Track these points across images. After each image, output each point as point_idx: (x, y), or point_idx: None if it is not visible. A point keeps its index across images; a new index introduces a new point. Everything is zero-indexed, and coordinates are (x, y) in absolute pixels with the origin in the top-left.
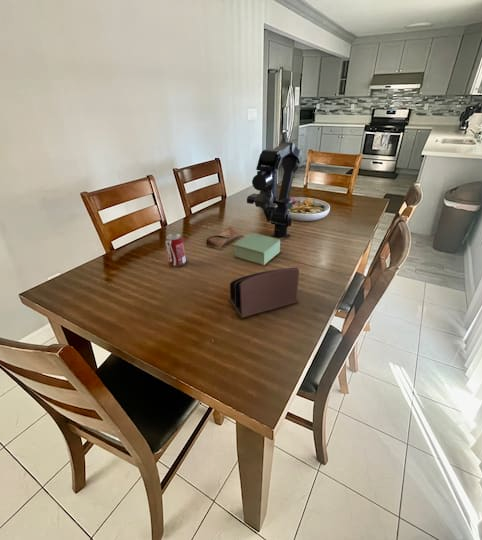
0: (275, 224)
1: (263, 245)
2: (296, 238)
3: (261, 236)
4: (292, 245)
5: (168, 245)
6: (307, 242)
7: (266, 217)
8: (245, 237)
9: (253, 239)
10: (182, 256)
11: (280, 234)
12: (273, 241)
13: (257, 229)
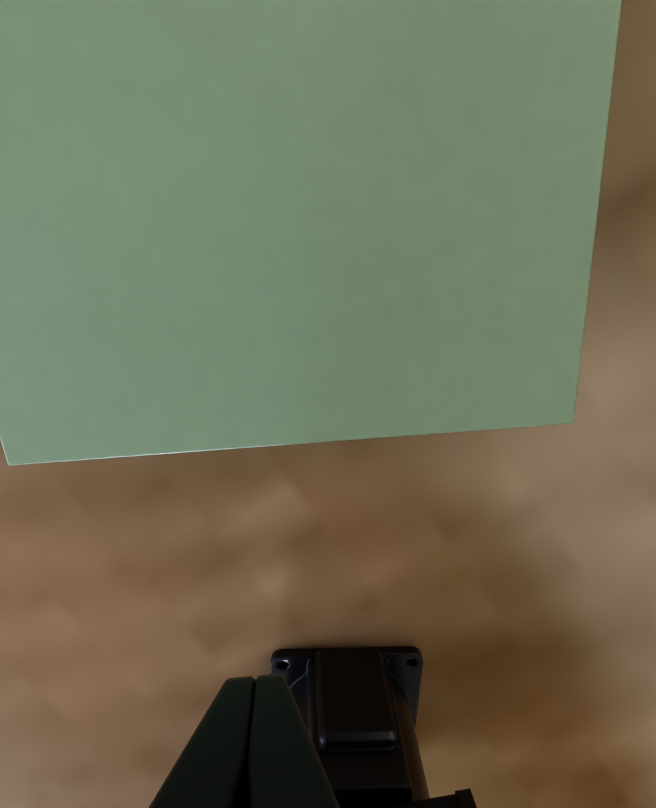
0: (407, 805)
1: (61, 50)
2: (178, 741)
3: (350, 384)
4: (108, 608)
5: None
6: (34, 732)
7: (297, 777)
8: (593, 166)
9: (405, 183)
10: None
11: (309, 697)
12: (41, 335)
13: (638, 691)
